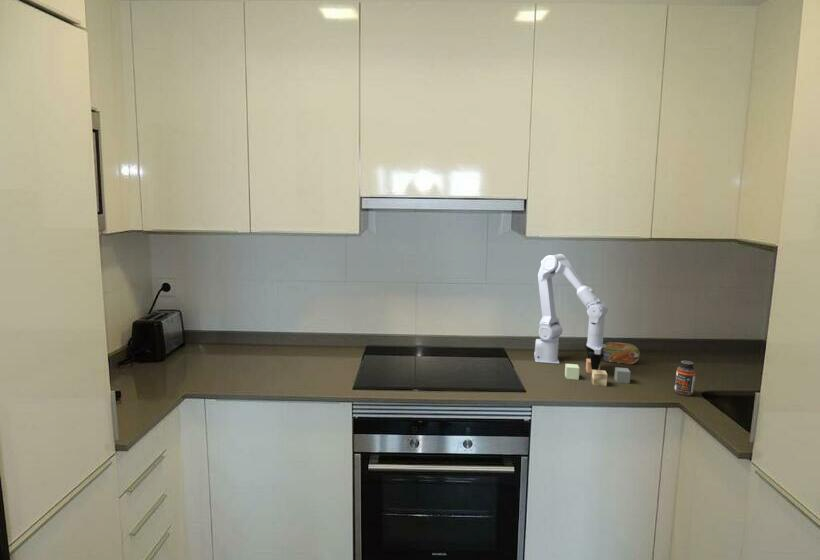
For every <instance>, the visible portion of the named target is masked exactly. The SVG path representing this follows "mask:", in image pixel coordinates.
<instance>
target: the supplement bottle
mask: <svg viewBox="0 0 820 560" xmlns="http://www.w3.org/2000/svg"><path fill="white" fill-rule="evenodd" d="M694 365H695V364H694V362H693V361H690V360H681V361H680V365H679V366H678V367H677V368H676V373H675V380H674V381H675V382H674V392H675V393H676V394H678V395H681V396H685V397H688V396H692V395H693V394H694V389H695V381H696V373H697V372H696V369H695V368H694Z"/></svg>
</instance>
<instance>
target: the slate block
mask: <svg viewBox="0 0 820 560" xmlns="http://www.w3.org/2000/svg"><path fill="white" fill-rule="evenodd" d="M613 376H614V377H613V379H614V381H615V382H616V383H619V384H628V383H630V382H631V371H630V369H629V368H628V367H618V366H617V367H616V366H615V367H614V375H613Z"/></svg>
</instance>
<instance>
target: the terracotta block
mask: <svg viewBox="0 0 820 560" xmlns="http://www.w3.org/2000/svg"><path fill="white" fill-rule="evenodd" d="M585 359H586V361H585V371H586V373H587V374H592V369H591V359H588V357H587V358H585ZM598 370H601V364H600V365H599V368H598Z"/></svg>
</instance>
